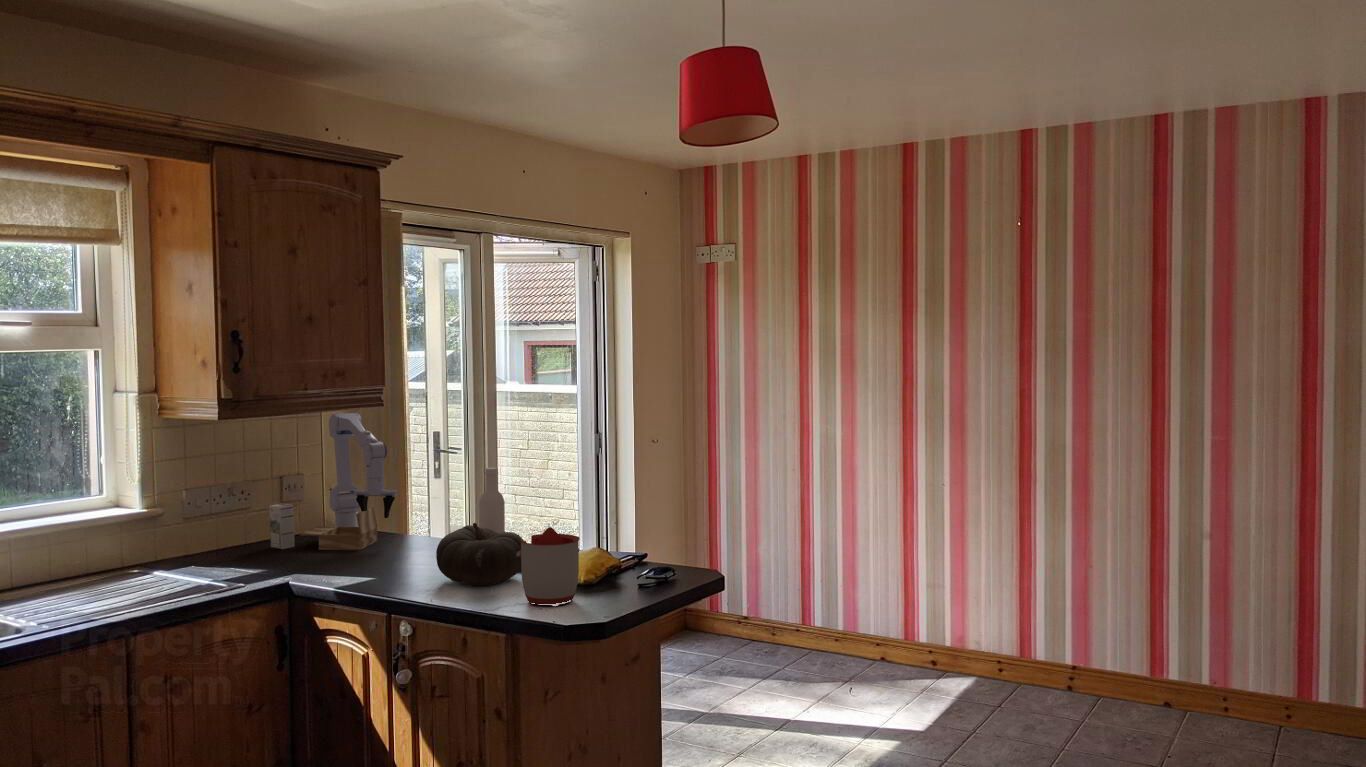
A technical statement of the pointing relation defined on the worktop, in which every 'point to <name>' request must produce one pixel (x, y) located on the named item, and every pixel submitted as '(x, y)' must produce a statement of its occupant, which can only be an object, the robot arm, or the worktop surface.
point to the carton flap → (366, 520)
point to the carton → (342, 538)
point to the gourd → (479, 555)
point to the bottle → (492, 504)
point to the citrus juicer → (550, 567)
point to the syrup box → (282, 526)
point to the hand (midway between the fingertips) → (375, 517)
